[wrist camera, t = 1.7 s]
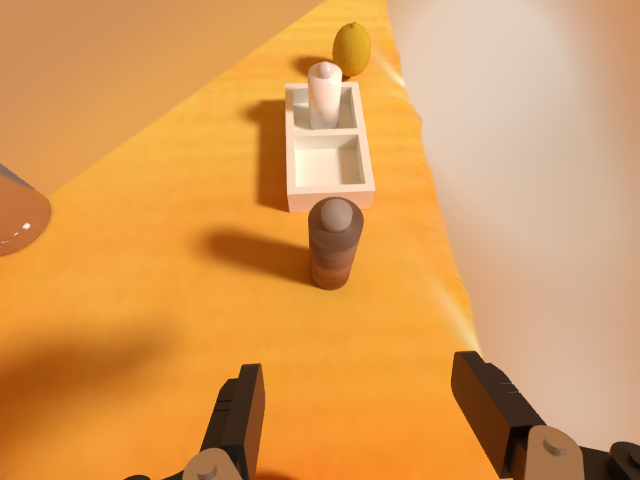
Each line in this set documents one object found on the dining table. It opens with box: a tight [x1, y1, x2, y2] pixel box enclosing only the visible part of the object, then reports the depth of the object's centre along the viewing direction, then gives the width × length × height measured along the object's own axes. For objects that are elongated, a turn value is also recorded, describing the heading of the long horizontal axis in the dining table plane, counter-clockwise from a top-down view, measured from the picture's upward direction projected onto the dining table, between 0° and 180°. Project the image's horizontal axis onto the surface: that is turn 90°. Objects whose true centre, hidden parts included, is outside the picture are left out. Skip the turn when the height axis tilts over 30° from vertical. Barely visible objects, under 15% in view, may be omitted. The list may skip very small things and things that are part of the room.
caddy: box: [285, 82, 375, 213], centre depth 42 cm, size 18×10×4 cm, turn 3°
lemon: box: [332, 22, 371, 77], centre depth 47 cm, size 6×6×8 cm
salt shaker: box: [308, 61, 342, 130], centre depth 40 cm, size 4×4×9 cm
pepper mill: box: [308, 197, 364, 290], centre depth 30 cm, size 4×4×13 cm
